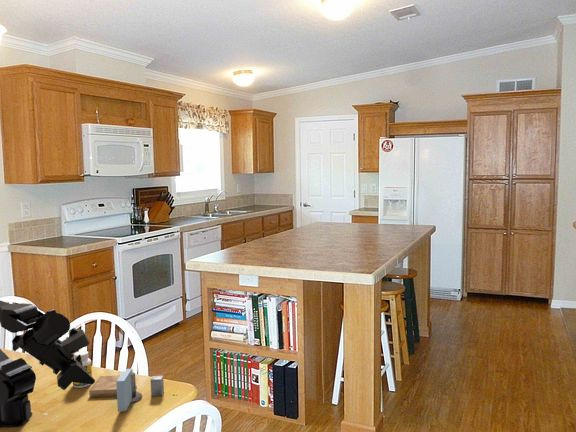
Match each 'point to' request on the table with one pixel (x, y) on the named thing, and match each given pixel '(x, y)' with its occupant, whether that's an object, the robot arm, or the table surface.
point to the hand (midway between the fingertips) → (93, 382)
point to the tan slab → (112, 387)
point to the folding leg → (124, 390)
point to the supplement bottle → (87, 365)
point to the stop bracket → (157, 386)
